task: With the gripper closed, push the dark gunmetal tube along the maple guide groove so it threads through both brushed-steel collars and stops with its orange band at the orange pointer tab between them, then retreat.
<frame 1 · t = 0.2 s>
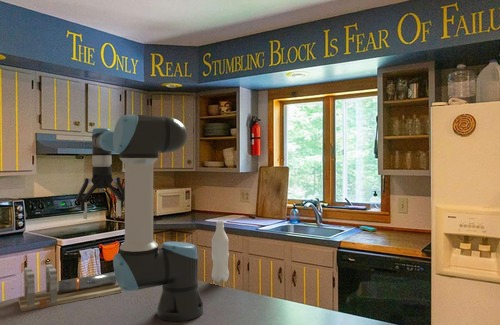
hand: (102, 217, 166), 27 cm above the counter, fingers open, 13 cm apart
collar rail: (71, 296, 150), on the counter
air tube: (87, 289, 153), point 2 cm above the counter, touching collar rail
water bottle: (220, 281, 167), on the counter
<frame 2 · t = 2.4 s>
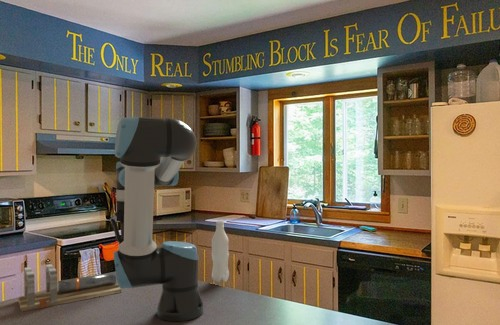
hand: (126, 258, 161), 11 cm above the counter, fingers closed
nothing on the counter moved.
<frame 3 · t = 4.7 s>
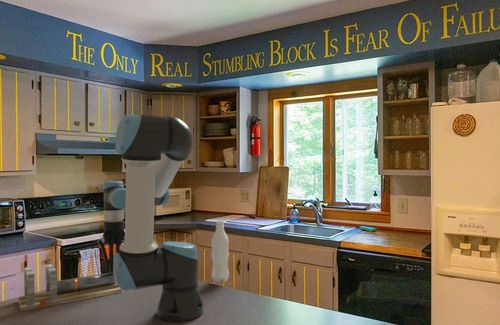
hand: (114, 279, 159), 3 cm above the counter, fingers closed
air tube: (86, 289, 152), point 2 cm above the counter, touching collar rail, gripper
everything else where it was.
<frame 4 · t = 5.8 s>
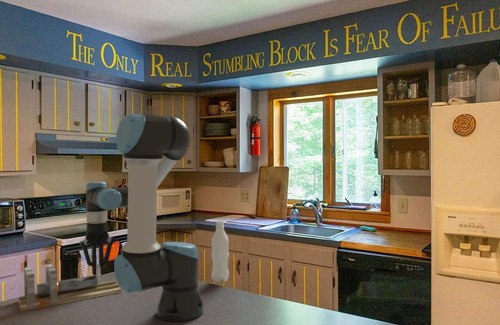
hand: (97, 282, 155), 3 cm above the counter, fingers closed
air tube: (67, 293, 149), point 1 cm above the counter, touching gripper
everything else where it was.
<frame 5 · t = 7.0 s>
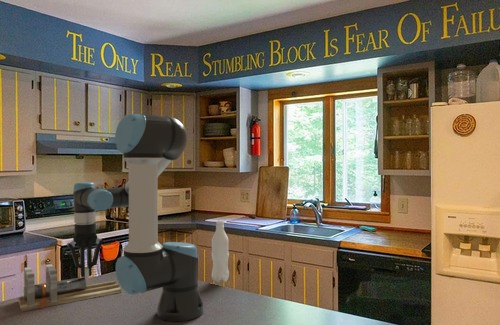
hand: (86, 284, 153), 3 cm above the counter, fingers closed
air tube: (55, 295, 146), point 1 cm above the counter, touching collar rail, gripper
everything else where it was.
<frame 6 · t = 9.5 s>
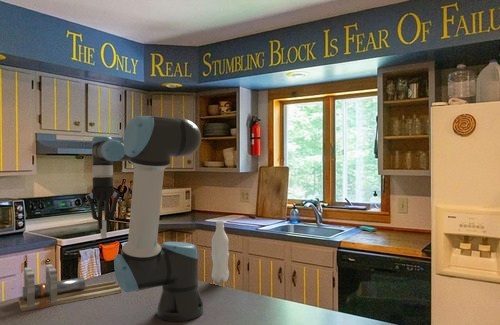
hand: (103, 237, 156), 21 cm above the counter, fingers closed
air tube: (54, 295, 146), point 1 cm above the counter, touching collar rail
everything else where it was.
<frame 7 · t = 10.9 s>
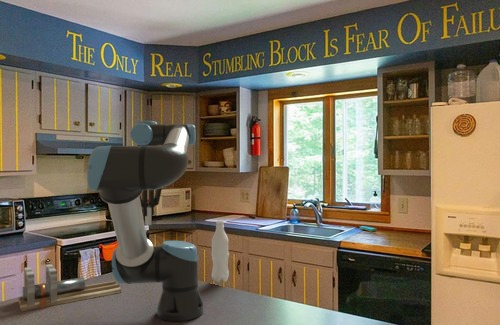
hand: (148, 224, 152), 26 cm above the counter, fingers closed
nothing on the counter moved.
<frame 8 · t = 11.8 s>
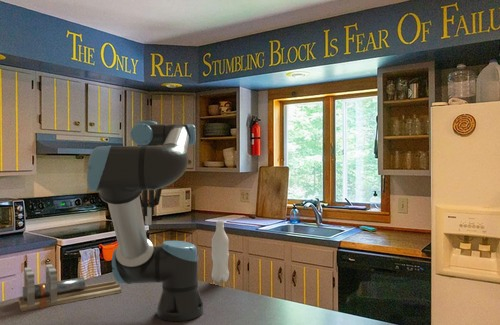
hand: (148, 224, 152), 26 cm above the counter, fingers closed
nothing on the counter moved.
at the end: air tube 0.5 cm from the target spot, point 1.5 cm above the counter; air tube moved 11.5 cm from its start; the gripper is holding nothing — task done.
